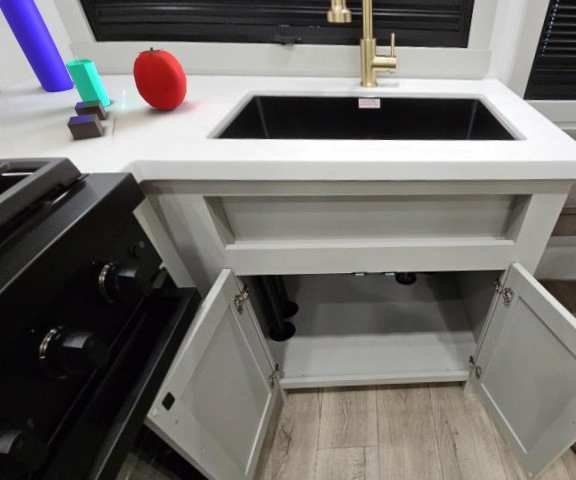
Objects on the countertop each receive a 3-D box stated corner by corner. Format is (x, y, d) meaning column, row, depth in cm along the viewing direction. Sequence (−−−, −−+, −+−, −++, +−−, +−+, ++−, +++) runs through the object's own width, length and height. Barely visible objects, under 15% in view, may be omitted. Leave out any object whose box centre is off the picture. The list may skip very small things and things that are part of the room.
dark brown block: (83, 126, 75) (74, 108, 72) (85, 120, 78) (76, 102, 76) (106, 123, 76) (98, 105, 74) (108, 117, 80) (100, 99, 77)
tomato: (136, 109, 83) (113, 48, 74) (178, 98, 90) (162, 41, 81) (159, 119, 78) (137, 55, 69) (202, 106, 84) (188, 46, 76)
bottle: (39, 89, 99) (-35, -47, 79) (67, 83, 104) (4, -46, 84) (51, 93, 95) (-23, -48, 75) (80, 87, 100) (17, -47, 80)
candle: (97, 104, 87) (73, 51, 79) (116, 105, 86) (95, 52, 78) (81, 111, 83) (54, 56, 75) (101, 112, 82) (76, 57, 74)
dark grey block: (77, 144, 67) (66, 124, 65) (80, 136, 71) (70, 116, 68) (103, 140, 69) (94, 120, 66) (105, 132, 72) (96, 113, 69)
